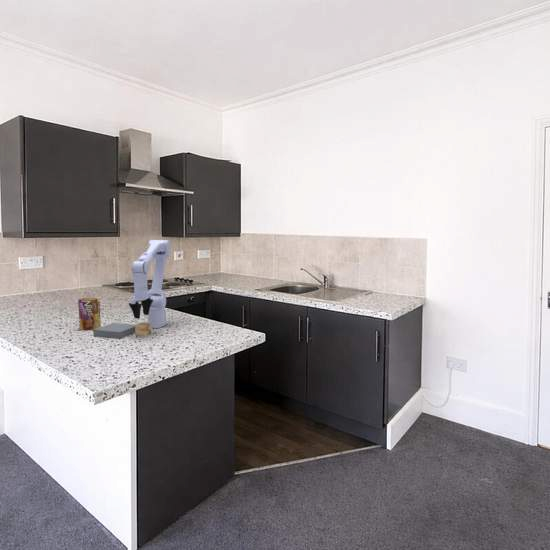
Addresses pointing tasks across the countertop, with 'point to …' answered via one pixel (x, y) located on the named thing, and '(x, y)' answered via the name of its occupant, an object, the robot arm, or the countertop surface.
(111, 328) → the base block
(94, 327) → the candy box
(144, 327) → the tan cube
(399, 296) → the countertop surface
